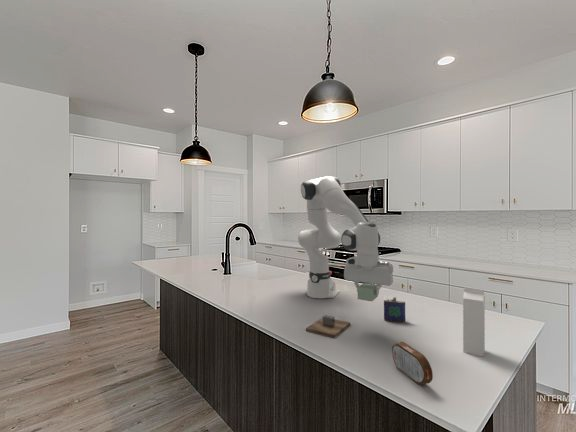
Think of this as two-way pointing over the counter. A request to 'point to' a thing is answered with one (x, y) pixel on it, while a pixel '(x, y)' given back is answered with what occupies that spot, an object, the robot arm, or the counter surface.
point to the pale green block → (367, 292)
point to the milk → (474, 321)
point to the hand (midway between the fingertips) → (367, 293)
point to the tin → (412, 363)
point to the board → (328, 328)
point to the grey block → (328, 321)
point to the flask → (394, 310)
